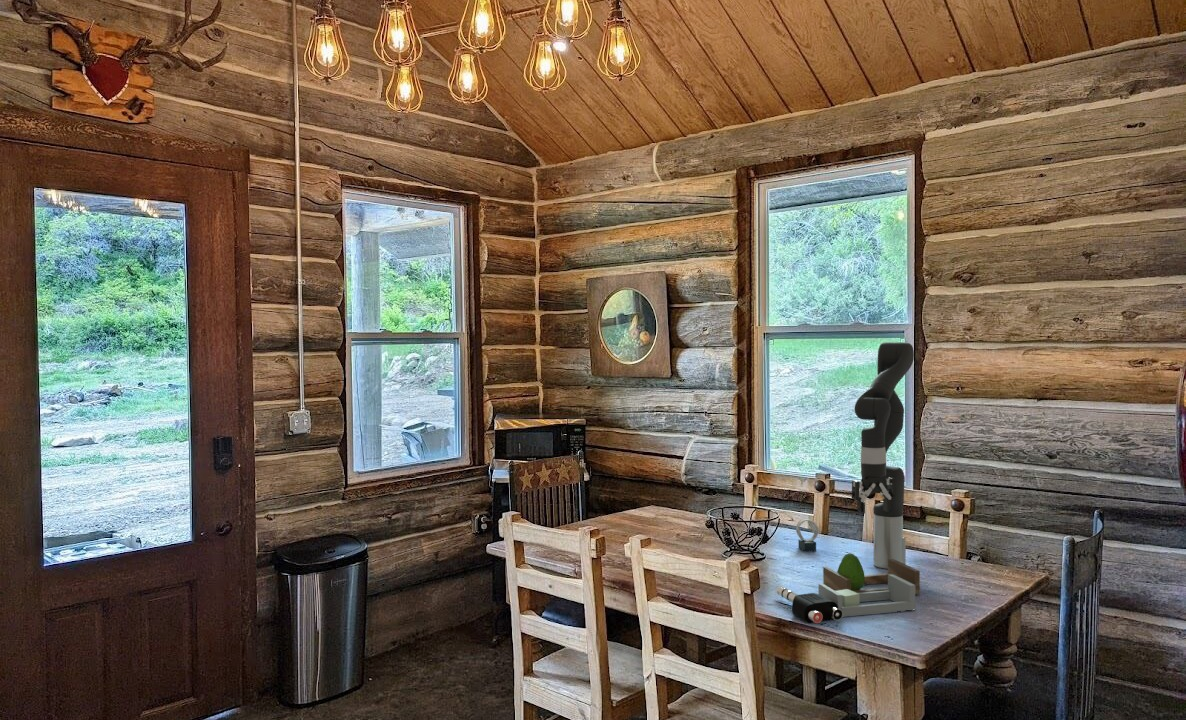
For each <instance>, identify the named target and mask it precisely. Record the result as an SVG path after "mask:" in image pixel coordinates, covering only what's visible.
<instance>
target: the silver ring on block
mask: <svg viewBox="0 0 1186 720" xmlns="http://www.w3.org/2000/svg"><path fill="white" fill-rule="evenodd" d="M805 522H807V524H808V526H809V528H810V529H811V530H812V532H813V535H812V536H811V537H810V538H804V537H803V535H802V533H801V530H800V527H801V525H802V524H803V523H805ZM795 531H796V534H797V536H798V538H799V539H798V541H797V542H798V549H799V550H801V551H802V552H805V553H806V552H808V553H809V552H817V542H816V541H815V540H816V539H817V537H818V536H819V531H820V529H819V525H817V523H816V522H815V521H814V520H813V519H809V518H802V519H800V520H799V521H797V524H796V527H795Z"/></svg>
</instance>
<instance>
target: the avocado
mask: <svg viewBox="0 0 1186 720" xmlns="http://www.w3.org/2000/svg"><path fill="white" fill-rule="evenodd" d="M859 559H860V558H858V557H857V556H856V555H855V554H854V553H851V552H849V553H845V554H844V556H843V557H842V559H841V562H840V564H839V566H838V569H837V571H836V572H837V573H839V574H841V575H843V576H844V577H846V578H848V579H850V580H851V591H854V590H862V589H863V587H864V585H865V584H864V580H865V577H864V575H865V571H864V569H863V566H862V563H861V562H860V560H859Z"/></svg>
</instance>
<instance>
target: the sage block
mask: <svg viewBox="0 0 1186 720" xmlns="http://www.w3.org/2000/svg"><path fill="white" fill-rule="evenodd" d="M836 592H838V593H839V594H841V595H842V607H846V606H857V605H861V604H860V603H861V602H860V601H859V594H858V593H856V592H854V591H851V590H849V589H844V590H838V591H836Z"/></svg>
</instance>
